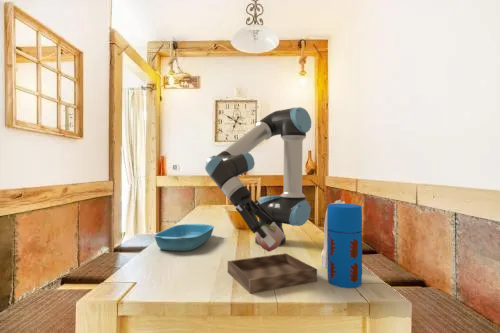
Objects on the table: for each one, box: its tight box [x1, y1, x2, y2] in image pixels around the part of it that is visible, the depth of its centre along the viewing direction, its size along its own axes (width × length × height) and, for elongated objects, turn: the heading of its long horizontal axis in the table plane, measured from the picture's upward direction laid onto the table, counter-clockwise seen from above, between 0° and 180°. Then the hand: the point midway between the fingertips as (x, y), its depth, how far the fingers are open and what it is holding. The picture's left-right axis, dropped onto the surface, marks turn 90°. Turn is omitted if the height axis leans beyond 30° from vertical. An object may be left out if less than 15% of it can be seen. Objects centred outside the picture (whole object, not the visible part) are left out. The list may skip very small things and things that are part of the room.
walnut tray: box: [227, 253, 318, 294], centre depth 106 cm, size 24×20×4 cm
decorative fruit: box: [255, 225, 282, 252], centre depth 106 cm, size 9×8×10 cm
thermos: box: [326, 203, 363, 289], centre depth 101 cm, size 11×11×25 cm
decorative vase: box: [320, 199, 346, 269], centre depth 117 cm, size 11×11×25 cm
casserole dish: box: [153, 223, 215, 252], centre depth 151 cm, size 37×22×7 cm, turn 169°
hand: (278, 241), depth 104 cm, fingers closed on decorative fruit, 9 cm apart
